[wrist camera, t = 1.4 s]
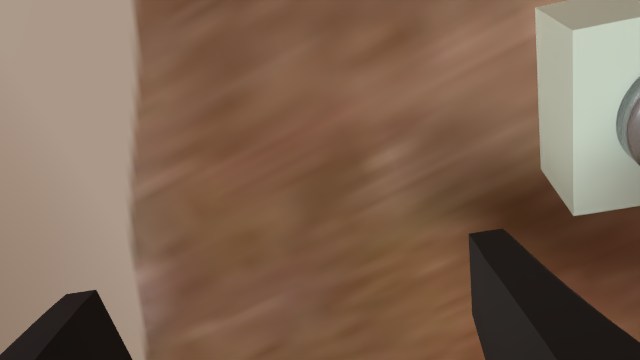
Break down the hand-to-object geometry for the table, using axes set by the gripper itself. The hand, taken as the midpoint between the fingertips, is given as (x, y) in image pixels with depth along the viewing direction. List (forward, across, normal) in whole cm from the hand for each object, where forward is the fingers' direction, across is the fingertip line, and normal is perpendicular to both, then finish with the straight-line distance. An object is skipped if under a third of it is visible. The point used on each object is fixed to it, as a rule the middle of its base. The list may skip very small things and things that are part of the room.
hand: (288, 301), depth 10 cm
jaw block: (+10, -11, +1) cm, 15 cm away
